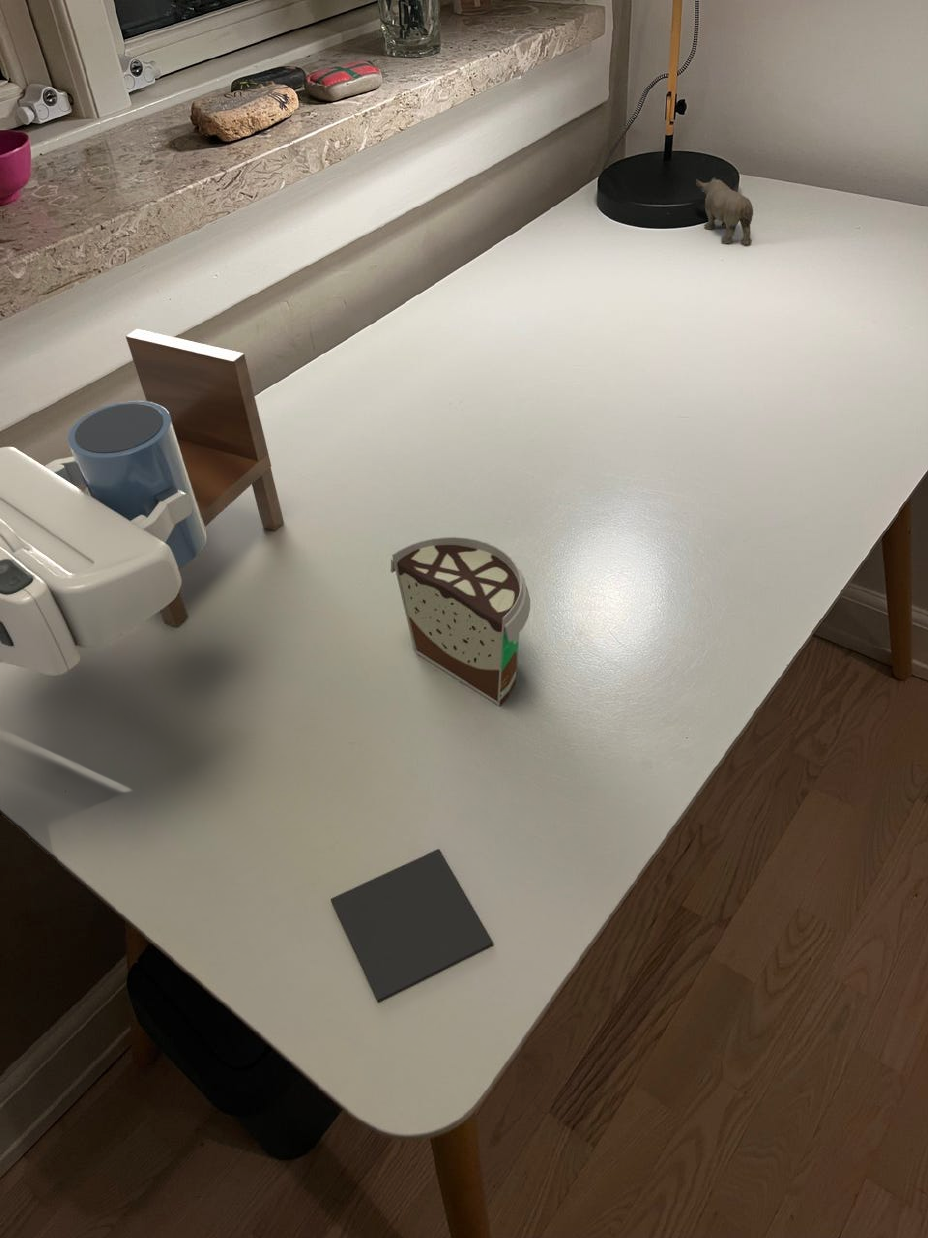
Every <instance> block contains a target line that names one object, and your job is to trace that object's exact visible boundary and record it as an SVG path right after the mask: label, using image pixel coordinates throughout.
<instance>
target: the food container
mask: <svg viewBox="0 0 928 1238" xmlns="http://www.w3.org/2000/svg"><path fill="white" fill-rule="evenodd" d="M394 572H395V574H396V579H397V583H398V587H399V591H400V595H401V600H402V605H403V608H404V613H405V617H406V622H407V625H408V630H409V634H410V638H411V642H412V647H413V651H414V653H415V654H416V655H418V656H419V657H421V658H423V659H424V660H426V661H427V662H429V663H431V664H432V665H434V666H435V667H436V668H438V669H440V670H442V671H443V672H445V673H446V674H447V675H450V676H451V677H452V678H454V679H456V680H457V681H459V682H460V683H462V684H463V685H465V686H467V687H468V688H470V689H471V690H473V691H474V692H476V693H478V694H479V695H481V697H484V698H485V699H487V700H488V701H489V702H492V703H493V704H495V705H496V706H497V707H501V706H502V705H503V704H504V703H505V702H506V701H507V700H508V699H509V697H510V695H511V693H512V691H513V689H514V688H515V685H516V679H517V678H516V677H517V665H518V655H519V643H520V642H519V641H520V633H521V631H523V629H524V628H525V625H526V623H527V621H528V619H529V615H530V612H531V597H530V592H529V589H528V586H527V583H526V579H525V577H524V575H523V573H522V571H521V569H520V568H519V567H518V565H517V563H516V562H515V561H514V560H513V558H511V556H509V555H508V554H507V553H506V552H505V551H503V550H502V549H500V548H498V547H497V546H496V545H493V544H491V543H489V542H486V541H483V540H479V539H474V538H469V537H461V536H443V537H436V538H429V539H424V540H420V541H418V542H415V543H412V544H409V545H406V546H405V547H403V548H401V549H399V550H398V551H396V552H394V553H393V554H392V558H391V559H390V573H391V574H392V573H394Z"/></svg>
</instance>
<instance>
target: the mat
mask: <svg viewBox="0 0 928 1238" xmlns="http://www.w3.org/2000/svg"><path fill="white" fill-rule="evenodd" d="M330 902H331V904H332V907H333V909H334V911H335V912H336V916H337V917H338V920H339V922H340V923H341V926H342V928H343V930H344V932H345V934H346V937H347V939H348V941H349V943H350V946H351V947H352V949H353V951H354V952H353V953H354V954H355V956H356V958H357V961H358V963H359V965H360V967H361V969H362V971H363V973H364V975H365V977H366V980H367V982H368V984H369V987H370V989H371V990H372V992H373V995H374V998H375V999H376V1002H377V1003H380V1002H382V1001H384V1000H386V999H388V998H390V997H392V996H394V995H397V994H398V993H400V992H402V991H404V990H406V989H408V988H410V987H412V986H414V985H416V984H419V983H421V982H422V981H424V980H425V979H428V978H430V977H432V976H434V975H436V974H438V973H440V972H442V971H444V970H446V969H448V968H450V967H453V966H454V965H456V964H458V963H460V962H462V961H464V960H466V959H468V958H470V957H472V956H474V955H476V954H478V953H480V952H482V951H484V950H486V949H488V948H491V947H492V946H494V941H493V940H492V938H491V936H490V934H489V933H488V931H487V929H486V928H485V926H484V924H483V922H482V921H481V919H480V916H479V915H478V914H477V912H476V910H475V908H474V907H473V905H472V903H471V901H470V900H469V898H468V897H467V895H466V893H465V891H464V889H463V888H462V885H461V884H460V882H459V881H458V879H457V877H456V875H455V874H454V872H453V870H452V868H451V867H450V865H449V863H448V862H447V860H446V858H445V856H444V855H443V853H442V851H441V850H440V848H437V849H435V850H433V851H431V852H429V853H427V854H425V855H423V856H420V857H418V858H416V859H413V860H412V861H409V862H407V863H405V864H403V865H400V866H399V867H397V868H394V869H392V870H389V871H388V872H385V873H383V874H381V875H379V876H377V877H375V878H373V879H370V880H369V881H366V882H364V883H362V884H359V885H358V886H356V887H353V888H351V889H348V890H346V891H344V892H342V893H340V894H338V895H336V896H334V897H331V898H330Z"/></svg>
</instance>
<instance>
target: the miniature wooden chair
mask: <svg viewBox="0 0 928 1238" xmlns="http://www.w3.org/2000/svg"><path fill="white" fill-rule="evenodd" d="M125 340H126V342H127V346H128V348H129V352H130V355H131V358H132V361H133V364H134V367H135V370H136V373H137V376H138V379H139V382H140V385H141V388H142V391H143V394H144V398H145V402H151V403H155V404H158V405H160V406H162V407H164V408H165V409H166V410H167V411H168V412H169V414H170V416H171V419H172V422H173V425H174V429H175V432H176V435H177V438H178V442H179V445H180V448H181V451H182V455H183V458H184V461H185V464H186V468H187V471H188V474H189V478H190V481H191V484H192V487H193V491H194V494H195V497H196V500H197V504H198V507H199V510H200V513H201V517H202V520H203V523H204V526H205V527H207V526H208V525H209V524H210V523H211V522H213V520H214V519H216V518H217V517H218V516H219V515H220V514H221V513H223V511H224V510H225V509H226V508H227V507H228V506H229V505H231V504H232V503H233V502H234V501H235V500H236V499H237V498H238V497H239V496H241V495H242V494H243V493H244V492H245V491H246V490H247V489H248V488H249V487H252V491H253V494H254V495H253V496H254V499H255V502H256V506H257V510H258V515H259V517H260V522H261V525H262V527H263V528H264V529H268V530H271V531H274V532H277V530H278V529H279V528H281V526H282V525H283V524H284V523H285V521H284V517H283V513H282V507H281V504H280V500H279V495H278V491H277V486H276V482H275V479H274V475H273V471H272V463H271V458H270V455H269V454H270V453H269V451H268V446H267V442H266V438H265V433H264V429H263V425H262V421H261V417H260V412H259V409H258V404H257V401H256V400H257V399H256V397H255V393H254V388H253V384H252V379H251V375H250V372H249V368H248V363H247V360H246V355H245V353H244V352H240V351H236V350H231V349H227V348H222V347H218V346H213V345H209V344H205V343H200V342H197V341H191V340H187V339H183V338H178V337H175V336H170V335H166V334H162V333H158V332H153V331H150V330H149V331H148V330H144V329H140V328H135V329H134V330H133V331H131V332H129V333H128V334H127V335H125ZM83 491H84V492H85V493H87V494H88V492H87V490H86V488H85V489H84V490H83ZM159 612H160V615H161V618H162V621H163V623H164V624H166V625H169V626H172V627H175V628H178V627H179V626H180V625H182V624H183V622H185V621H186V619H188V617H189V616H188V612H187V610H186V606H185V603H184V601H183V598H182V595H181V593H180V591H179V592H178V594H177V596H176V598H175V599H174V600H173V601H172V602H171V603H170V604H168V605H167V606H166V607H164V608H163V609H162V610H160V611H159Z"/></svg>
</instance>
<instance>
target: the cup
mask: <svg viewBox="0 0 928 1238" xmlns="http://www.w3.org/2000/svg"><path fill="white" fill-rule="evenodd" d="M67 444H68V447H69V449H70V452H71V454H72V457H74V459H75V462H76V465H77V467H78V470H79V472H80V475H81V477H82V480H83V482H84V484H83V485H84V487H85V489H86V490H87V492H88V495H90V496H91V497H93V498H95V499H96V500H98V501H99V502H101V503H102V504H104V505H106V506H107V507H109V508H110V509H112V510H114V511H115V512H117V513H118V514H120V515H121V516H123V517H125V518H126V519H128V520H129V521H131V520H133V519H135V518H136V517H138V516H140V515H144V516H145V517H146V518H147V517H148V516H149V515H150V514H151V512H152V511H153V510H154V508H155V507H156V506H157V505H156V502H155V499H154V496H156V495H157V494H159V493H161V492H164V491H166V490H167V489H168V488H169V487H175V488H177V489H179V490H181V491H183V492H184V493H186V494H188V495H189V497H190V500H191V503H192V507H193V511H192V513H191V514H190V515H189V516H188V517H186V518H185V519H183V520H182V521H180V522H178V523H177V524H175V525H174V528H173V530H172V532H171V534H170V535H169V537H168V539H167V541H166V544H167V545H168V546H169V547H170V549H171V551H172V553H173V556H174V558H175V561H176V564H177V567H178V569H180V568H182V567H183V566H185V565H187V564H189V563H190V562H191V561H193V560H194V559H195V558H196V557H197V556H199V555H200V553H201V552H202V551H203V549H204V547H205V546H206V543H207V536H208V534H207V530H206V526H204V523H203V520H202V517H201V513H200V510H199V507H198V504H197V500H196V497H195V494H194V491H193V487H192V484H191V481H190V478H189V474H188V471H187V468H186V464H185V461H184V458H183V455H182V451H181V448H180V445H179V442H178V438H177V435H176V432H175V429H174V425H173V422H172V419H171V416H170V414H169V412H168V411H167V410H166V409H165V408H164V407H162V406H160V405H158V404H155V403H151V402H147V401H146V400H145V401H144V400H130V401H122V402H116V403H112V404H108V405H105V406H102V407H99V408H97V409H94V410H93V411H91V412H89V413H87V414H86V415H84V416H82V417H81V418H80V419H79V420H77V421H76V422H75V423H74V425H73V426H72V427H71V428H70V430H69V432H68V435H67Z"/></svg>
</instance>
